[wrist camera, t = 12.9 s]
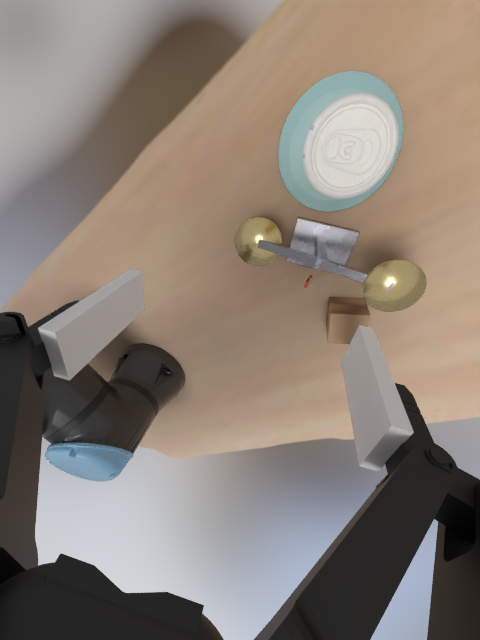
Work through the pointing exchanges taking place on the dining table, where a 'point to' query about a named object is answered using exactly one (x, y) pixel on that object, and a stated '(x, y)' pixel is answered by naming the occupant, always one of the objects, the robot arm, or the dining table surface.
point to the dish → (302, 121)
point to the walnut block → (345, 318)
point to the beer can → (350, 145)
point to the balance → (331, 259)
